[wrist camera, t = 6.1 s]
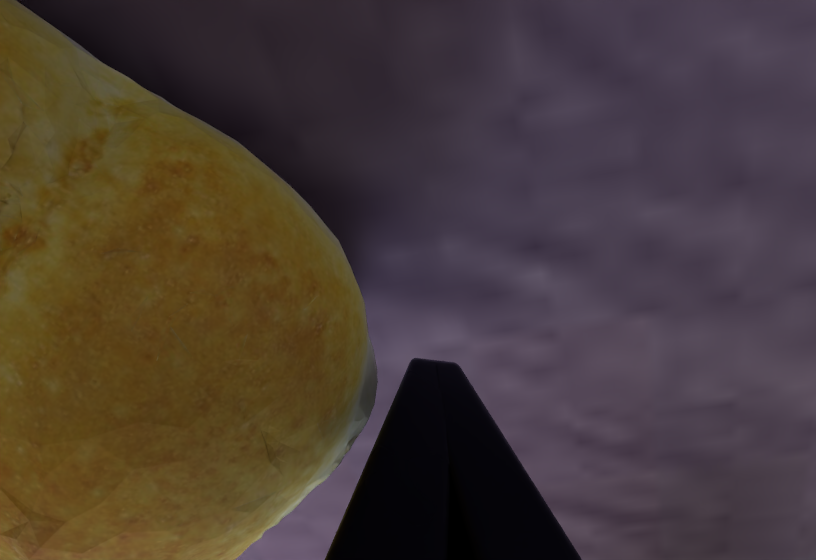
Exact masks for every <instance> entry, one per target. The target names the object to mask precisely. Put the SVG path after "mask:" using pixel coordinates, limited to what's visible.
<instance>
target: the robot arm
mask: <svg viewBox="0 0 816 560" xmlns="http://www.w3.org/2000/svg"><path fill="white" fill-rule="evenodd" d="M325 560H582V559H581V558H580V556H579V554H578V553H577V551H576V550H575V548H574V546H573V545H572V543H571V542H570V540H569V539H568V537H567V535H566V534H565V532H564V531H563V529H562V528H561V526H560V524H559V523H558V521H557V520H556V518H555V516H554V515H553V513H552V512H551V510H550V509H549V507H548V505H547V504H546V502H545V501H544V499H543V497H542V496H541V494H540V493H539V491H538V490H537V488H536V486H535V485H534V483H533V482H532V480H531V478H530V477H529V475H528V474H527V472H526V471H525V469H524V467H523V466H522V464H521V463H520V461H519V459H518V458H517V456H516V455H515V453H514V452H513V450H512V448H511V447H510V445H509V444H508V442H507V440H506V439H505V437H504V436H503V434H502V433H501V431H500V429H499V428H498V426H497V425H496V423H495V421H494V420H493V418H492V417H491V415H490V414H489V412H488V410H487V409H486V407H485V406H484V404H483V402H482V401H481V399H480V398H479V396H478V395H477V393H476V391H475V390H474V388H473V387H472V385H471V383H470V382H469V380H468V379H467V377H466V376H465V374H464V372H463V371H462V369H461V368H460V366H459V365H458V364H456V363H454V362H446V361H437V360H429V359H420V358H414V359H412V360H411V362H410V364H409V366H408V368H407V370H406V373H405V375H404V377H403V380H402V382H401V384H400V387H399V389H398V391H397V394H396V396H395V398H394V401H393V403H392V405H391V407H390V410H389V412H388V414H387V417H386V419H385V421H384V424H383V426H382V428H381V431H380V433H379V435H378V438H377V440H376V442H375V445H374V447H373V449H372V451H371V454H370V456H369V458H368V461H367V463H366V465H365V468H364V470H363V472H362V475H361V477H360V479H359V482H358V484H357V486H356V488H355V491H354V493H353V495H352V498H351V500H350V502H349V505H348V507H347V509H346V512H345V514H344V516H343V519H342V521H341V523H340V526H339V528H338V530H337V532H336V535H335V537H334V539H333V542H332V544H331V546H330V549H329V551H328V553H327V556H326V558H325Z"/></svg>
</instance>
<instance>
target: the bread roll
mask: <svg viewBox="0 0 816 560" xmlns="http://www.w3.org/2000/svg"><path fill="white" fill-rule="evenodd" d="M377 382H378V381H377V367H376V361H375V356H374V350H373V347H372V344H371V341H370V338H369V335H368V327H367V319H366V311H365V303H364V300H363V297H362V294H361V291H360V289H359V286H358V284H357V282H356V279H355V277H354V274H353V271H352V269H351V266H350V264H349V262H348V260H347V258H346V255H345V253H344V251H343V249H342V247H341V245H340V243H339V240H338V239H337V238H336V237H335V235H334V234H333V233H332V232H331V231H330V229H329V228H328V227H327V226H326V225H325V223H324V222H323V221H322V220H321V218H320V217H319V216H318V215H317V214H316V212H315V211H314V210H313V209H312V208H311V206H310V205H309V204H308V203H307V202H306V201H305V200H304V199H303V198H302V197H301V196H300V195H299V194H298V193H297V192H296V191H295V190H294V189H293V188H292V187H291V186H290V185H289V184H288V183H286V182H285V181H284V180H283V179H282V178H280V177H279V176H278V175H277V174H276V173H275V172H273V171H272V170H271V169H270V168H269V167H267V166H266V165H265V164H264V163H263V162H261V161H260V160H259V159H258V158H257V157H256V156H254V155H253V154H252V153H251V152H250V151H248V150H247V149H246V148H245V147H244V146H242V145H241V144H240V143H239V142H238V141H236V140H234V139H233V138H231V137H229V136H227V135H226V134H224V133H222V132H221V131H219V130H217V129H216V128H214V127H212V126H211V125H209V124H207V123H205V122H204V121H202V120H200V119H198V118H196V117H194V116H192V115H190V114H188V113H186V112H184V111H182V110H180V109H178V108H177V107H175V106H173V105H172V104H171V103H169V102H168V101H166V100H165V99H164V98H162V97H160V96H158V95H156V94H154V93H152V92H150V91H148V90H147V89H145V88H143V87H141V86H140V85H139V84H137V83H136V82H134V81H133V80H132V79H130V78H129V77H127V76H125V75H123V74H122V73H120V72H118V71H116V70H114V69H112V68H111V67H109V66H107V65H105V64H103V63H102V62H100V61H99V60H98V59H97V58H96V57H94V56H93V55H92V54H91V53H89V52H88V51H87V50H85V49H84V48H83V47H81V46H80V45H79V44H78V43H76V42H75V41H73V40H72V39H71V38H69V37H68V36H66V35H65V34H63V33H62V32H61V31H59V30H58V29H56V28H55V27H53V26H52V25H51V24H49V23H48V22H46V21H45V20H43V19H42V18H40V17H39V16H38V15H36V14H35V13H33V12H32V11H30V10H29V9H28V8H26V7H25V6H23V5H22V4H20V3H19V2H18V1H16V0H0V560H235V559H236V558H237V557H238V556H240V555H241V554H242V553H243V552H244V551H245V550H246V549H247V548H248V547H249V546H250V545H251V544H252V543H254V542H255V541H257V540H259V539H261V538H262V535H263V533H264V532H265V531H266V530H268V529H269V528H271V527H273V526H275V525H277V524H278V523H279V522H280V521H281V519H282V518H283V517H284V516H286V515H288V514H289V513H291V512H292V511H293V510H294V509H295V508H296V507H297V506H298V504H299V503H300V502H301V501H302V500H303V499H304V498H305V497H306V496H307V495H308V494H309V493H310V492H311V491H312V490H313V489H314V488H315V487H316V486H317V485H320V484H321V483H322V482H324V481H325V480H326V479H327V478H328V477H329V475H330V474H331V473H332V472H333V471H334V470H335V469H336V467H337V466H338V465H339V464H340V462H341V461H342V459H343V457H344V455H345V454H346V453H347V452H348V451H349V450H350V448H351V446H352V444H353V442H354V441H355V439H356V438H357V437H358V435H359V434H360V433H361V431H362V429H363V428H364V426H365V424H366V423H367V421H368V419H369V416H370V414H371V411H372V409H373V406H374V403H375V396H376V389H377Z"/></svg>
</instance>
